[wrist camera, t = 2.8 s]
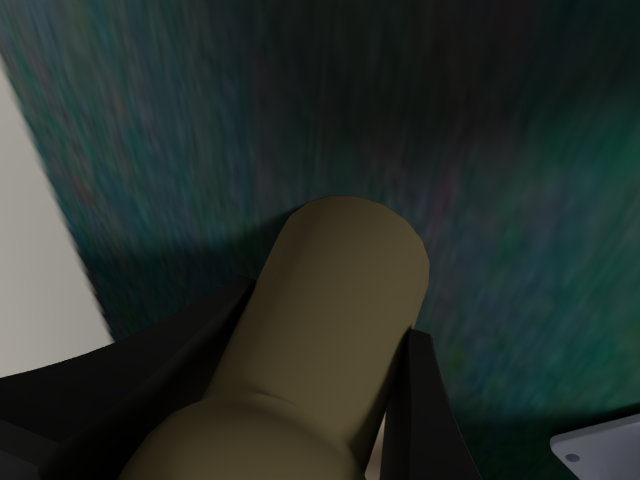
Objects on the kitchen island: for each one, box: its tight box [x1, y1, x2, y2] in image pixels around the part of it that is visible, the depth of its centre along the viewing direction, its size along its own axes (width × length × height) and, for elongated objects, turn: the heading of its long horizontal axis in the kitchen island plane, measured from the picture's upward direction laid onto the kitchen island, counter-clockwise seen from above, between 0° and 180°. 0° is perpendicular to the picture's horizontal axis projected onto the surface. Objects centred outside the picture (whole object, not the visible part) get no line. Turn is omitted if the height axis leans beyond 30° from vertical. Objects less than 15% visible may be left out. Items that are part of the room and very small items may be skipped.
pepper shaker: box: [117, 196, 430, 480], centre depth 11 cm, size 6×6×11 cm
